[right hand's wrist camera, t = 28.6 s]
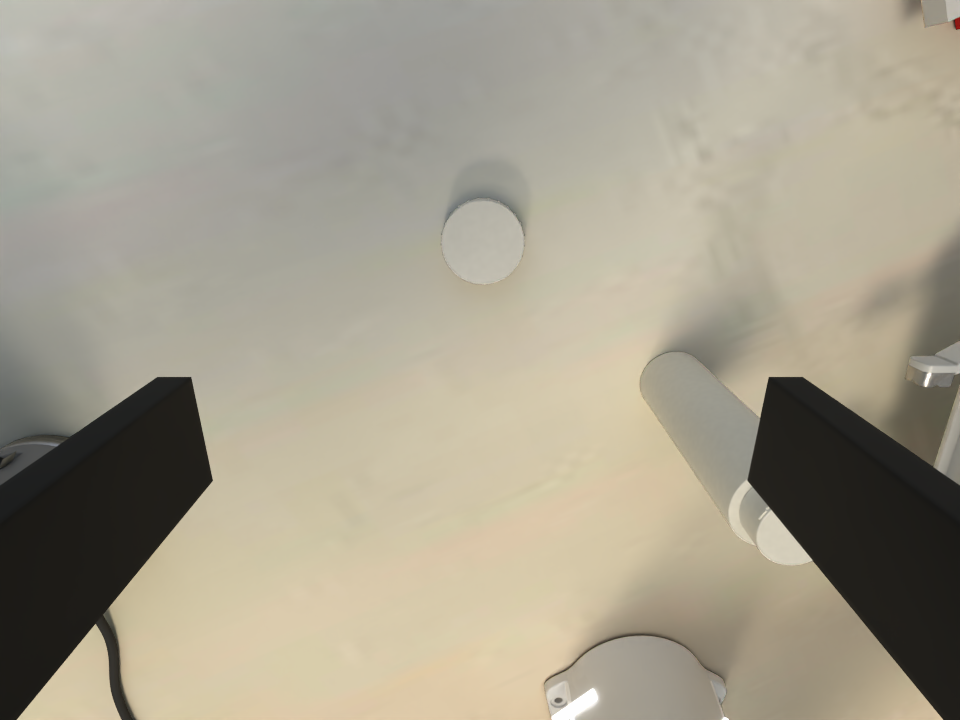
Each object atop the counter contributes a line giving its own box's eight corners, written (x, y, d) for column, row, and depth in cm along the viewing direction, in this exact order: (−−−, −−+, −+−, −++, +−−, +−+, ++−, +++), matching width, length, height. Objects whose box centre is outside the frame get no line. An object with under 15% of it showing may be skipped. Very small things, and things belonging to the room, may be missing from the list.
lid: (425, 243, 40) (422, 248, 38) (478, 179, 38) (478, 180, 36) (486, 294, 41) (487, 302, 39) (539, 234, 40) (543, 238, 38)
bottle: (717, 367, 44) (878, 510, 26) (681, 419, 45) (809, 588, 28) (661, 340, 43) (789, 470, 25) (627, 395, 45) (724, 552, 27)
